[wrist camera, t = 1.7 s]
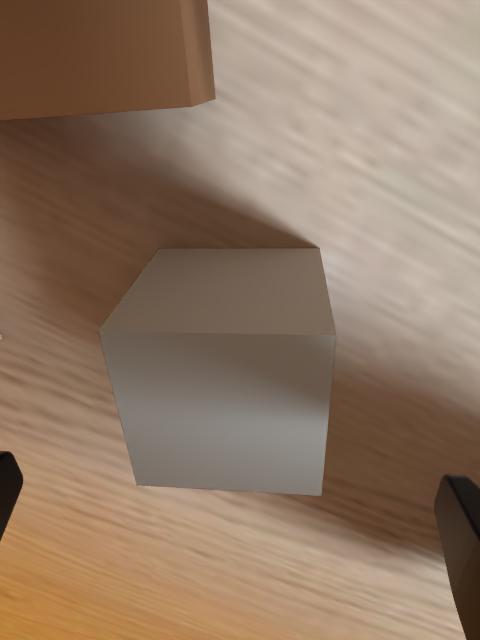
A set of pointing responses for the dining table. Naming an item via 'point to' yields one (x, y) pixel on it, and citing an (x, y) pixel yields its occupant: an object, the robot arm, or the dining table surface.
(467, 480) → the robot arm
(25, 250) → the dining table surface
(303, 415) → the grey cube
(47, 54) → the brown square block
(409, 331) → the dining table surface
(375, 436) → the dining table surface
